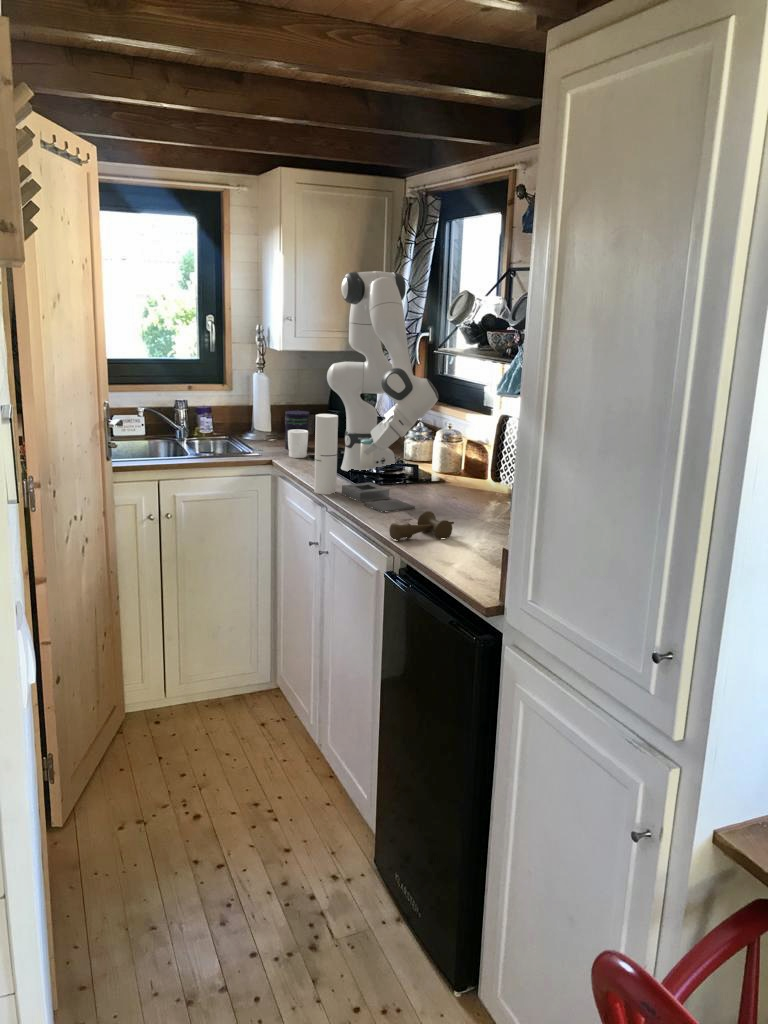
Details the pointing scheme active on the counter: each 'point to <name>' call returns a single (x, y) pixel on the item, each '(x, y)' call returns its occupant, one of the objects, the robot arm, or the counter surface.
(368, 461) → the white bottle teal cap
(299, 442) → the white cup
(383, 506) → the mat
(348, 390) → the robot arm
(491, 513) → the counter surface
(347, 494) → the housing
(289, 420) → the storage jar
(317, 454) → the cylindrical container
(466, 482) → the counter surface
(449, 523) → the kendama
